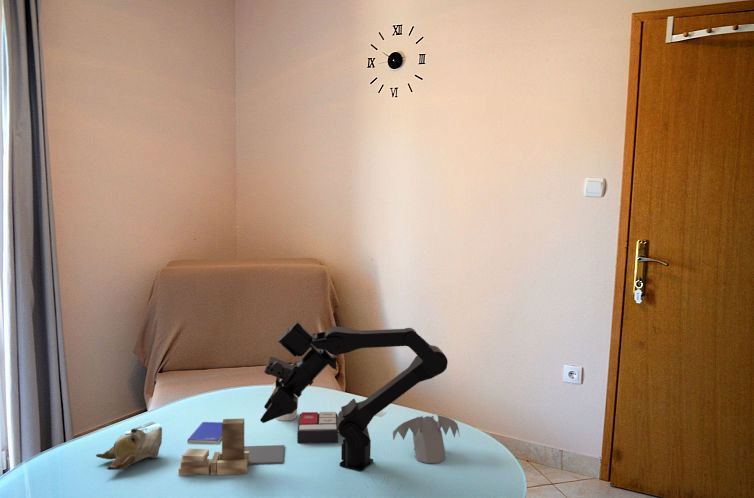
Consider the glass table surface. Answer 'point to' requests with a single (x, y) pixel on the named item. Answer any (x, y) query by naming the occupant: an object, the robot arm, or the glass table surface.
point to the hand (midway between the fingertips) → (263, 414)
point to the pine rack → (229, 465)
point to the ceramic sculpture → (133, 448)
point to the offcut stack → (195, 462)
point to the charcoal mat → (265, 454)
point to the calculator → (317, 427)
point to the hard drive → (207, 433)
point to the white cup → (287, 416)
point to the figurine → (428, 436)
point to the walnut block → (233, 439)
